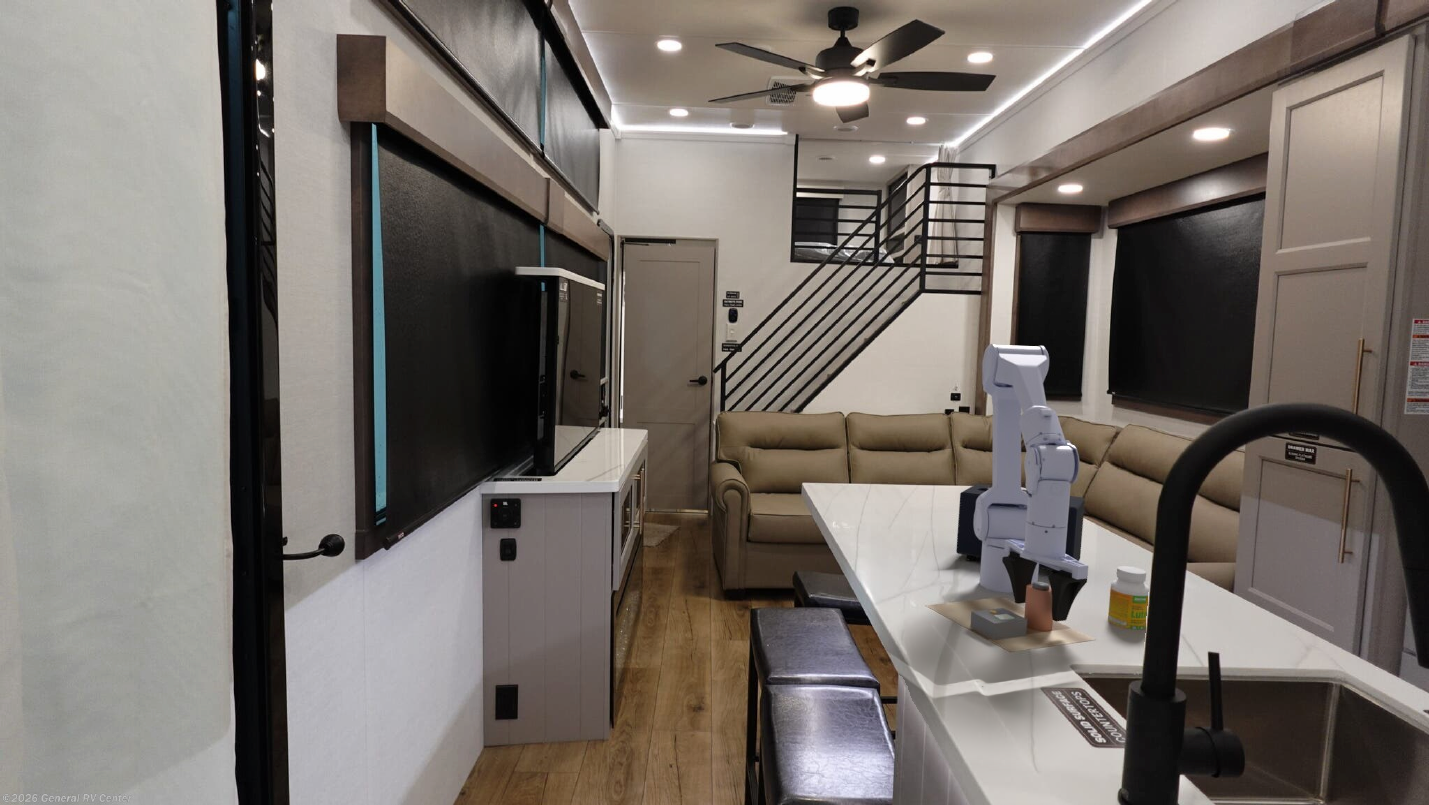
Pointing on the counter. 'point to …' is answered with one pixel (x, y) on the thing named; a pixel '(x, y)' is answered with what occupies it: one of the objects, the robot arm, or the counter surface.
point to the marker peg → (1038, 606)
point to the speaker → (966, 533)
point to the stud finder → (998, 623)
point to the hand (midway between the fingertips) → (1039, 611)
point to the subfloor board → (1033, 638)
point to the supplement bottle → (1129, 598)
